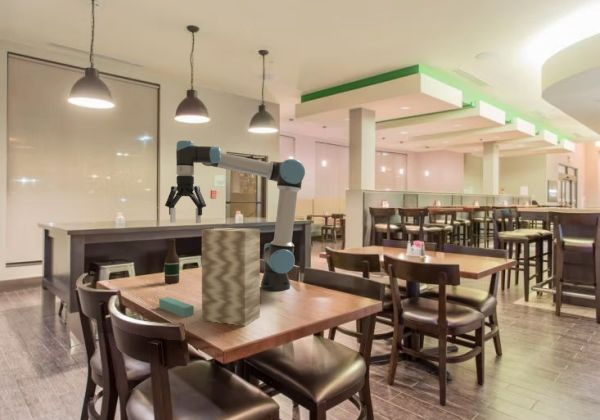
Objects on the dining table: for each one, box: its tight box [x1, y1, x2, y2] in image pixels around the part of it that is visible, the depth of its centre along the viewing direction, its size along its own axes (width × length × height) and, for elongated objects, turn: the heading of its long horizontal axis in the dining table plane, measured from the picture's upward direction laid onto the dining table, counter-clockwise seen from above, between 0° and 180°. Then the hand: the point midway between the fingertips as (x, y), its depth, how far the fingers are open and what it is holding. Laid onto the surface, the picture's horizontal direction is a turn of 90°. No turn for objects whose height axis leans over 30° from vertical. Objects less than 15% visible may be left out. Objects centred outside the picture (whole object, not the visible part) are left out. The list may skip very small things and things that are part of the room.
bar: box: [158, 296, 195, 318], centre depth 156 cm, size 20×4×4 cm, turn 47°
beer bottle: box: [164, 237, 180, 285], centre depth 209 cm, size 8×8×24 cm
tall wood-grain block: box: [201, 227, 261, 327], centre depth 146 cm, size 18×12×34 cm, turn 70°
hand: (185, 222), depth 174 cm, fingers open, 13 cm apart
